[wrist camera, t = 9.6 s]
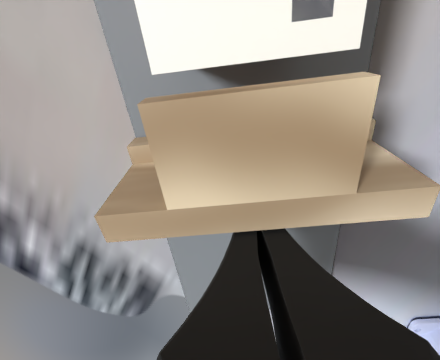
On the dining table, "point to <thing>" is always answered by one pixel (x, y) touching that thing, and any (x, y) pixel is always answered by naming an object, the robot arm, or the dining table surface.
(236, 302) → the robot arm
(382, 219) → the wooden stand
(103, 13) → the slate mat
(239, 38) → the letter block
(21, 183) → the dining table surface
